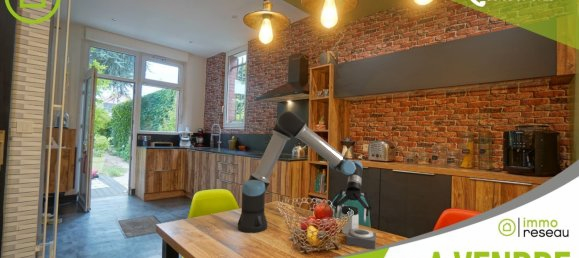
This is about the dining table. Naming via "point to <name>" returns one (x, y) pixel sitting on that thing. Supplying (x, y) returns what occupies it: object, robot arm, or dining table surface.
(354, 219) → the jar
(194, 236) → the dining table surface
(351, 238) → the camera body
